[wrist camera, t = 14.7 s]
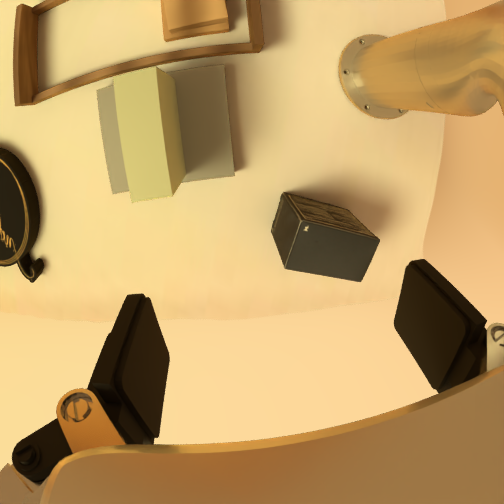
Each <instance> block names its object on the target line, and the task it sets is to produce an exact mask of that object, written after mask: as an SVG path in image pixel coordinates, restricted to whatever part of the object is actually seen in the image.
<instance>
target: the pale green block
mask: <svg viewBox="0 0 504 504" xmlns="http://www.w3.org/2000/svg"><path fill="white" fill-rule="evenodd" d="M113 82H114V92H115V102H116V111H117V119H118V126H119V133H120V140H121V147H122V153H123V159H124V165H125V171H126V176H127V181H128V186H129V192H130V196H131V201H132V203H133V202H139V201H145V200H152V199H158V198H165V197H171V196H173V195H174V193H175V192H176V190H177V188H178V187H179V185H180V184H181V182H182V180H183V179H184V177H185V176H186V169H185V161H184V154H183V146H182V139H181V131H180V122H179V113H178V104H177V95H176V85H175V79H174V78H172V77H171V76H169V75H168V74H166V73H165V72H163V71H162V70H160V69H159V68H157V67H152V68H147V69H143V70H138V71H134V72H130V73H126V74H123V75H119V76H115V77H113Z"/></svg>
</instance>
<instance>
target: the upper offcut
mask: <svg viewBox="0 0 504 504" xmlns="http://www.w3.org/2000/svg"><path fill="white" fill-rule="evenodd" d="M163 2H164V8H165V14H166V19H167V25H168V30H169V32H170V33H171V34H174V33H178V32H182V31H186V30H190V29H195V28H199V27H204V26H209V25H214V24H219V23H225V22H228V14H227V9H226V5H225V0H163Z"/></svg>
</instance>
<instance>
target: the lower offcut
mask: <svg viewBox="0 0 504 504" xmlns="http://www.w3.org/2000/svg"><path fill="white" fill-rule="evenodd" d="M225 5H226V0H225ZM226 9H227V6H226ZM161 10H162V22H163V34H164V40H165V41H166V42H169V41H174V40H179V39H184V38H190V37H196V36H202V35H209V34H217V33H225V32H229V23H228V22H225V23H219V24H214V25H209V26H204V27H199V28H195V29H190V30H186V31H182V32H178V33H174V34H171V33H170V32H169V30H168V25H167V19H166V14H165V8H164V2H163V0H161Z"/></svg>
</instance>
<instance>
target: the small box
mask: <svg viewBox="0 0 504 504" xmlns="http://www.w3.org/2000/svg"><path fill="white" fill-rule="evenodd" d="M271 233H272V235H273V238H274V240H275V243H276V246H277V248H278V251H279V254H280V257H281V260H282V262H283V265H284V268H285V269H288V270H294V271H299V272H305V273H311V274H317V275H323V276H328V277H334V278H340V279H345V280H351V281H356V282H361V281H362V279H363V277H364V275H365V273H366V271H367V269H368V267H369V265H370V262H371V260H372V258H373V256H374V253H375V251H376V249H377V246H378V244H379V242H380V239H379V238H378V237H376V236H375V235H374V234H373V233H371V232H370V231H369V230H368V229H367V228H366V227H365V226H364V225H363V224H362V223H361V222H360V221H359V220H358V219H357V218H356V217H355V216H354V215H353V214H352V213H351V212H350V211H349V210H347V209H344V208H340V207H337V206H333V205H330V204H326V203H323V202H319V201H315V200H312V199H308V198H304V197H300V196H296V195H292V194H288V193H282V194H281V198H280V202H279V206H278V209H277V213H276V216H275V219H274V221H273V225H272V230H271Z"/></svg>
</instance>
